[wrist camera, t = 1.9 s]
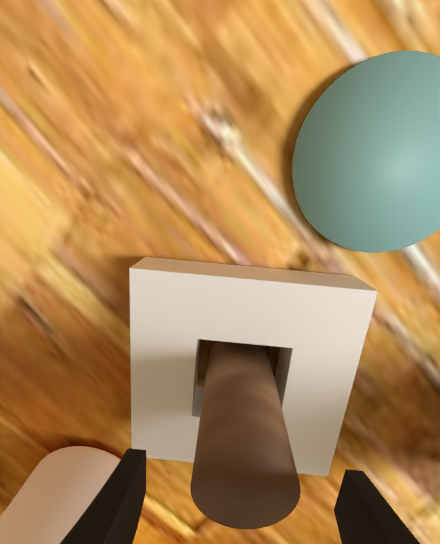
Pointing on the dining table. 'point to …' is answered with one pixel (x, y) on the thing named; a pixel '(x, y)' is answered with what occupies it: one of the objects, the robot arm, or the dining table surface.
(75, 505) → the beverage can
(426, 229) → the teal pad
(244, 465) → the walnut dowel
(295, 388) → the block
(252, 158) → the dining table surface
